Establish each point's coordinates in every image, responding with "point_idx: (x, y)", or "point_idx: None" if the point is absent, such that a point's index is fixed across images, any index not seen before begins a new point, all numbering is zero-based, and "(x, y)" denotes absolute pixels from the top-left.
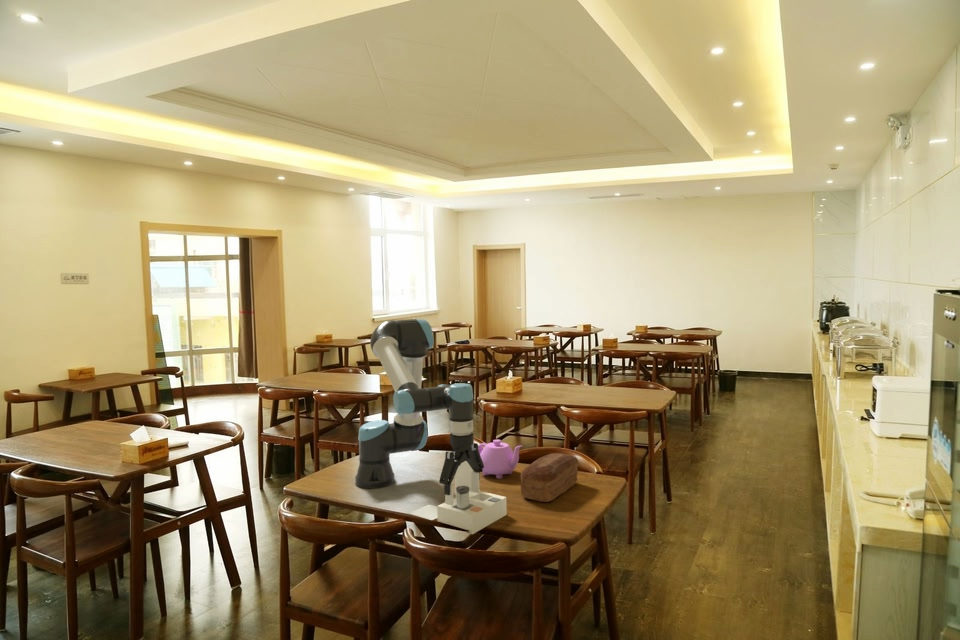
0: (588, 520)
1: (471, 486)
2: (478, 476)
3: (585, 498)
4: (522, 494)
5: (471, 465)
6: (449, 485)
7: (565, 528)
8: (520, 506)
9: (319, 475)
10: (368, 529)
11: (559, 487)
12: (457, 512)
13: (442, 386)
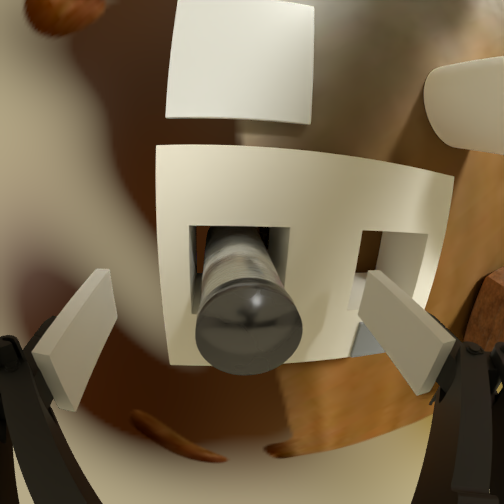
0: (389, 431)
1: (479, 141)
2: (409, 377)
3: None
4: (488, 280)
5: (449, 418)
6: (49, 391)
7: (340, 434)
8: (440, 302)
9: None
10: (30, 7)
11: None
12: (162, 290)
13: None
